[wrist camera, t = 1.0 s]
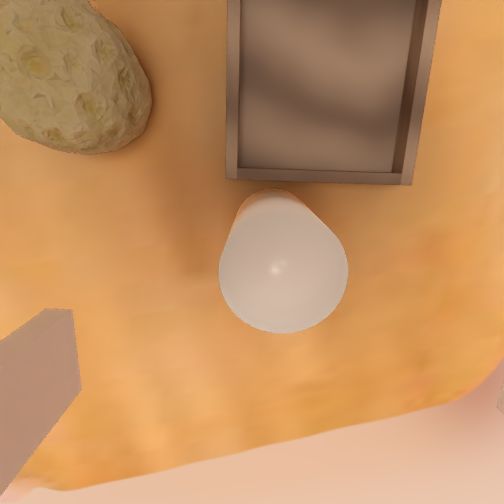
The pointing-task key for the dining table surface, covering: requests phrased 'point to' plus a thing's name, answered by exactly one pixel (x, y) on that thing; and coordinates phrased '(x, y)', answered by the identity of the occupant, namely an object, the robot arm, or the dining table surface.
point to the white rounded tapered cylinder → (281, 264)
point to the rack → (327, 89)
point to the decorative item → (69, 77)
